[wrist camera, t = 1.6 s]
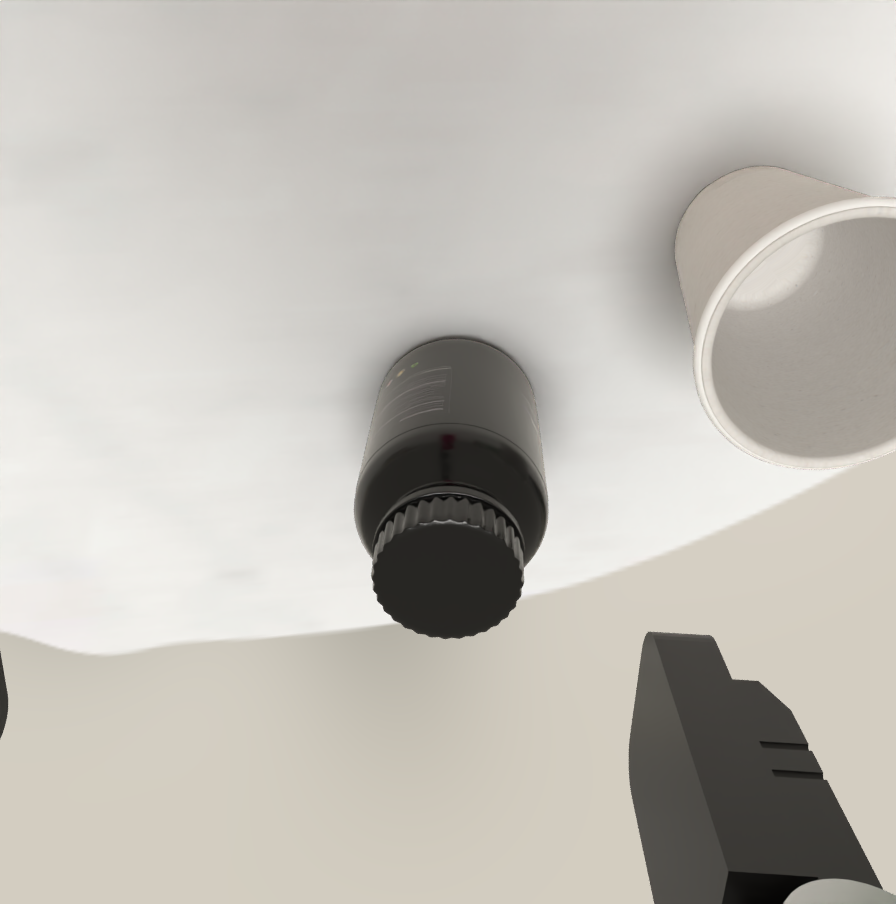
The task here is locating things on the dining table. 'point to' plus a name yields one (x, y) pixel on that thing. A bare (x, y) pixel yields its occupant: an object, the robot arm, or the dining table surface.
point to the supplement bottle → (452, 488)
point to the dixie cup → (793, 316)
